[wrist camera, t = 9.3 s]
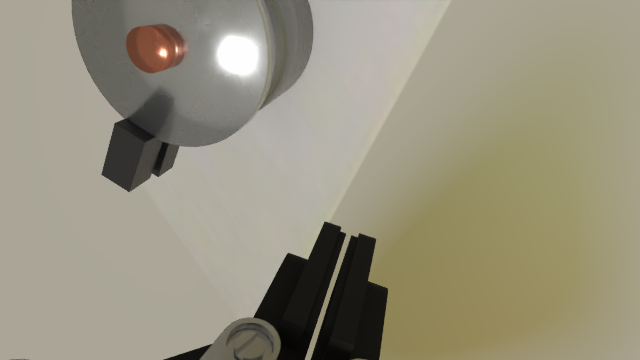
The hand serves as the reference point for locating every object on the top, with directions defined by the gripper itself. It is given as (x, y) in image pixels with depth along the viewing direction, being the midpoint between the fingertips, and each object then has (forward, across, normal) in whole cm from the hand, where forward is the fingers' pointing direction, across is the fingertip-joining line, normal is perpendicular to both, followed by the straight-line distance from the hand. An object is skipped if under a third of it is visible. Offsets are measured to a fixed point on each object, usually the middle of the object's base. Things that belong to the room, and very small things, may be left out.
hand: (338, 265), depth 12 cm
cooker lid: (+19, +19, +3) cm, 27 cm away
